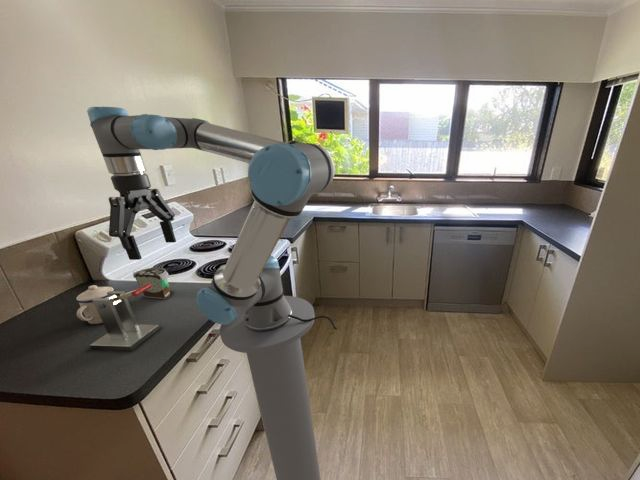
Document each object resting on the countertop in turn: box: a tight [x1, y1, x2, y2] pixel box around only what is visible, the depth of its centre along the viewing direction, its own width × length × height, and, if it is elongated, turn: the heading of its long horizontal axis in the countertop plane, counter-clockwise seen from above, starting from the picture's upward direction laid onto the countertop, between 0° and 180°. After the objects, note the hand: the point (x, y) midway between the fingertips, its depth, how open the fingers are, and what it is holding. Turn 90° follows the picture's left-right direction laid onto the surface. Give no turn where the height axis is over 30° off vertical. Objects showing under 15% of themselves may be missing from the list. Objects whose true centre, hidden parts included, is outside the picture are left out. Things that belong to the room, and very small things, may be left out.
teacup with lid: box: [75, 284, 116, 325], centre depth 92 cm, size 12×9×12 cm
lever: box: [107, 283, 151, 305], centre depth 79 cm, size 13×5×2 cm, turn 87°
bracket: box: [89, 290, 160, 351], centre depth 83 cm, size 12×10×15 cm
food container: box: [132, 267, 171, 300], centre depth 108 cm, size 12×6×10 cm, turn 80°
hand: (154, 250), depth 83 cm, fingers open, 13 cm apart
